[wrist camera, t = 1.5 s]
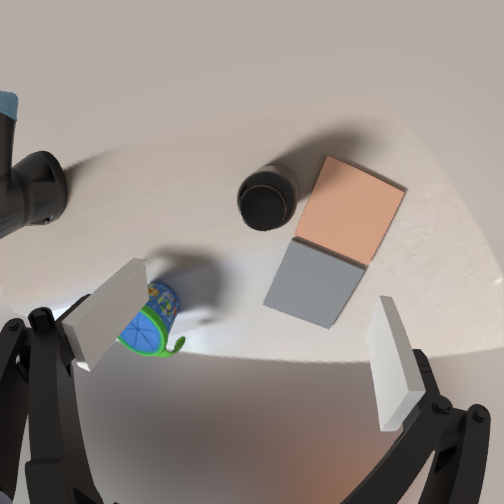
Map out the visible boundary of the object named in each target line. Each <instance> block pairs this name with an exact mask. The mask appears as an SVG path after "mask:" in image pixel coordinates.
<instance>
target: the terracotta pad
mask: <svg viewBox="0 0 504 504" xmlns="http://www.w3.org/2000/svg"><path fill="white" fill-rule="evenodd" d="M403 195H404V192H403V191H401V190H399V189H397V188H395V187H393V186H391V185H389V184H387V183H385V182H383V181H381V180H379V179H377V178H375V177H373V176H371V175H369V174H367V173H365V172H363V171H361V170H359V169H357V168H355V167H352V166H350V165H348V164H346V163H344V162H341V161H339V160H337V159H335V158H332V157H330V156H328V155H327V156H326V159H325V161H324V164H323V166H322V169H321V171H320V173H319V176H318V178H317V181H316V183H315V186H314V188H313V190H312V193H311V195H310V197H309V200H308V202H307V205H306V207H305V209H304V212H303V214H302V216H301V219H300V221H299V223H298V226H297V228H296V230H295V233H294V234H295V235H297V236H299V237H302V238H304V239H307V240H309V241H312V242H314V243H317V244H319V245H321V246H324V247H326V248H329V249H331V250H333V251H336V252H338V253H340V254H343V255H345V256H348V257H350V258H352V259H355V260H357V261H359V262H362V263H364V264H366V265H368V264H369V262H370V260H371V259H372V257H373V255H374V253H375V251H376V249H377V247H378V246H379V244H380V242H381V240H382V238H383V236H384V234H385V232H386V230H387V228H388V226H389V224H390V222H391V220H392V218H393V216H394V214H395V212H396V210H397V208H398V206H399V204H400V201H401V199H402V197H403Z"/></svg>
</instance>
